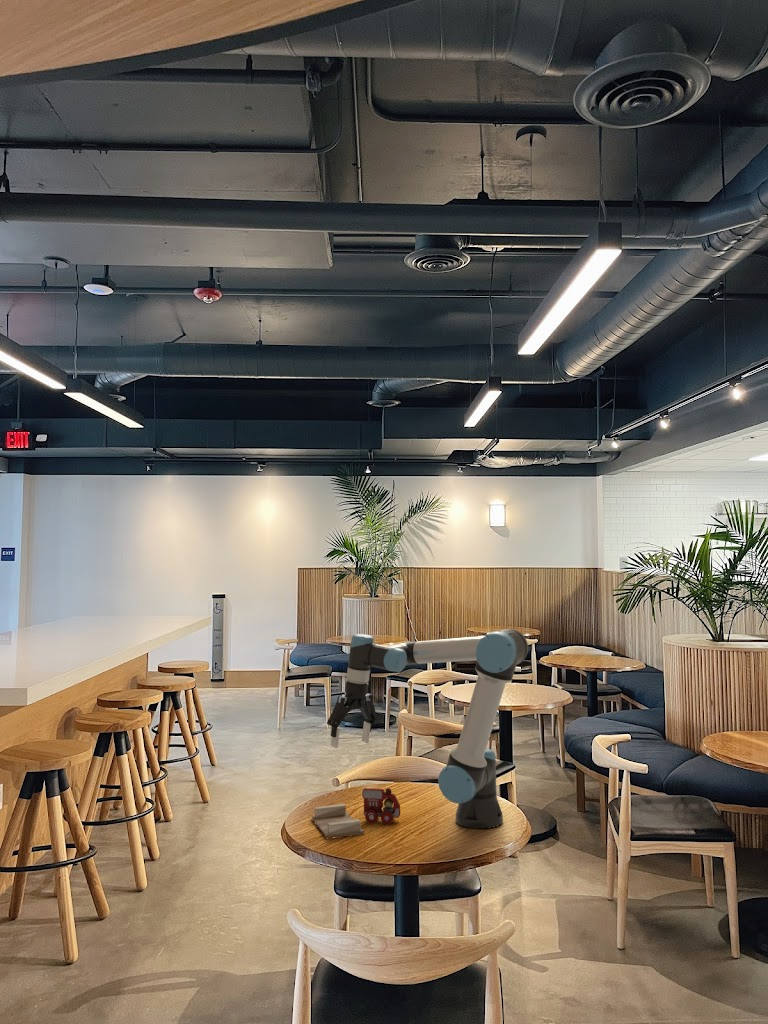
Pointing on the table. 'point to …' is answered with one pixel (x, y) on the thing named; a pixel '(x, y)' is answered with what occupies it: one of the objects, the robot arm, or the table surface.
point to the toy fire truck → (380, 805)
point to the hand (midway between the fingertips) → (349, 744)
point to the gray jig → (336, 821)
